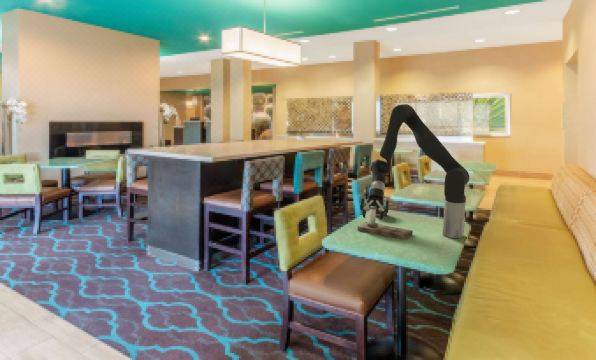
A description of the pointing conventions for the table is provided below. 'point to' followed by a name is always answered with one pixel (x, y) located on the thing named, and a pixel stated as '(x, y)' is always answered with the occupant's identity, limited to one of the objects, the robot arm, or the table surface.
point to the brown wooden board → (386, 231)
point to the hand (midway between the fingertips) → (372, 218)
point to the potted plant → (378, 212)
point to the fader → (373, 217)
